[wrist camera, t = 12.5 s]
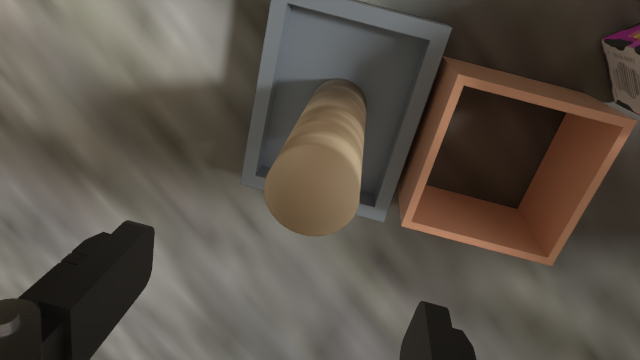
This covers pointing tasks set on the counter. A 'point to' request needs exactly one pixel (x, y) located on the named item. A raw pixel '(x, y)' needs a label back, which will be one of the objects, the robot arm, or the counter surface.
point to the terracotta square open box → (546, 186)
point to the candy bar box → (624, 66)
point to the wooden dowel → (321, 163)
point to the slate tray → (351, 64)
